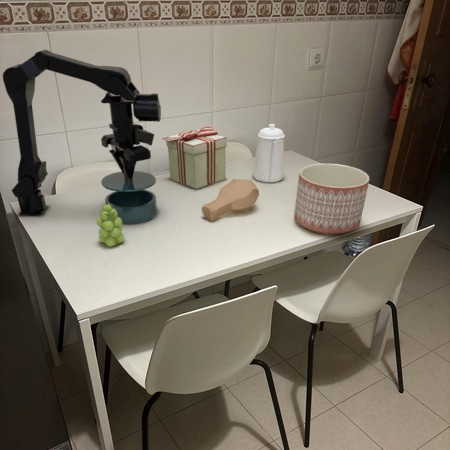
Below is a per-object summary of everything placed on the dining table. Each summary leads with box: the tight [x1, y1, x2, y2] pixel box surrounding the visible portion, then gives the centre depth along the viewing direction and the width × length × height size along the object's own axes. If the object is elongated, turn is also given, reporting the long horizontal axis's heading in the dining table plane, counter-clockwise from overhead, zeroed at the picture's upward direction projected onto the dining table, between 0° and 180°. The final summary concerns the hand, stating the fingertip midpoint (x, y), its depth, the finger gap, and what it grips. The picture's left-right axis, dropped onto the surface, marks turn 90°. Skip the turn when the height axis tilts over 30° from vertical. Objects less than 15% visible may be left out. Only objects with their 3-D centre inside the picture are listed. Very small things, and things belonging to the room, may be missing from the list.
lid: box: [100, 167, 157, 192], centre depth 129 cm, size 16×16×5 cm
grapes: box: [96, 199, 125, 247], centre depth 117 cm, size 7×7×12 cm
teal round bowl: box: [104, 189, 158, 225], centre depth 134 cm, size 15×15×5 cm
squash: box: [201, 178, 260, 221], centre depth 136 cm, size 11×20×9 cm, turn 135°
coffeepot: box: [252, 123, 286, 183], centre depth 157 cm, size 11×25×19 cm, turn 179°
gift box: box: [162, 126, 228, 190], centre depth 156 cm, size 17×18×17 cm
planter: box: [293, 162, 370, 236], centre depth 129 cm, size 19×19×15 cm
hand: (128, 177), depth 129 cm, fingers closed on lid, 2 cm apart
